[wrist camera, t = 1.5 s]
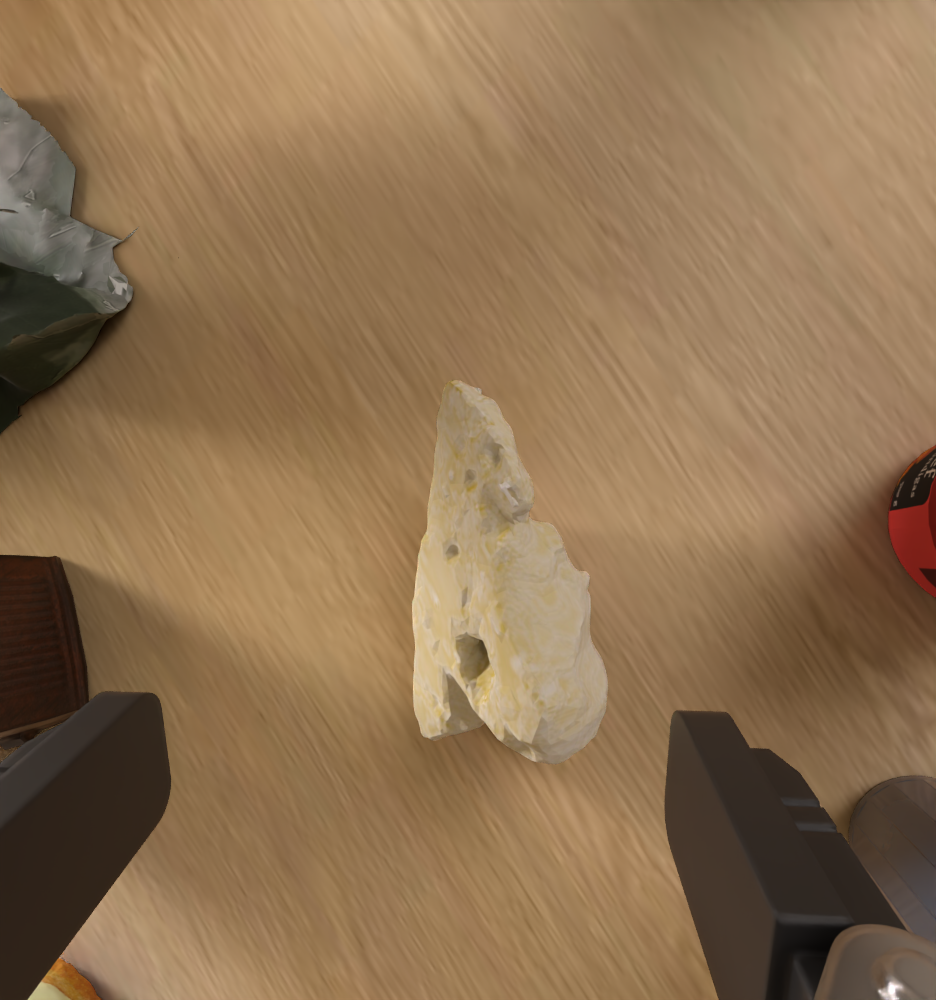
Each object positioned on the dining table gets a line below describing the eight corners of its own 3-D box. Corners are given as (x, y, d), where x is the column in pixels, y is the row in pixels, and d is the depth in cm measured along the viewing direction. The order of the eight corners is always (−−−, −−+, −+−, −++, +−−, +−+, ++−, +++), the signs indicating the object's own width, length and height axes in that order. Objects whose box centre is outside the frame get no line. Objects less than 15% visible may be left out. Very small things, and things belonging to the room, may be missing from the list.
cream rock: (568, 779, 33) (764, 651, 23) (450, 830, 30) (621, 703, 19) (458, 545, 41) (568, 368, 31) (352, 561, 37) (437, 365, 27)
